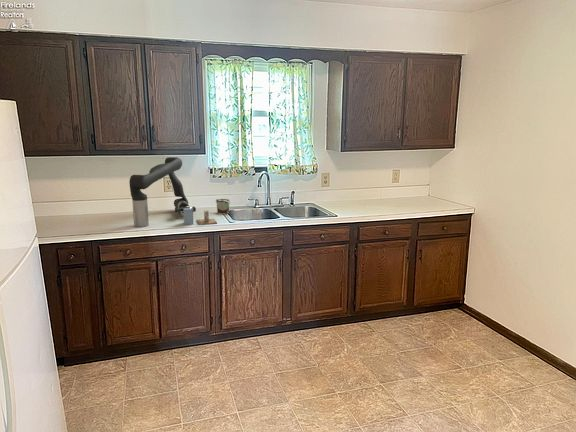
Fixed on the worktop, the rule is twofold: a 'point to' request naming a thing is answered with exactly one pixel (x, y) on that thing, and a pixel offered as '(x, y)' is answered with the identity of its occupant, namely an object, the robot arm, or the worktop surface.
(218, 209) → the food container
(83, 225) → the worktop surface
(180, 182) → the robot arm
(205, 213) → the post
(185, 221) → the blue-grey rectangular block
